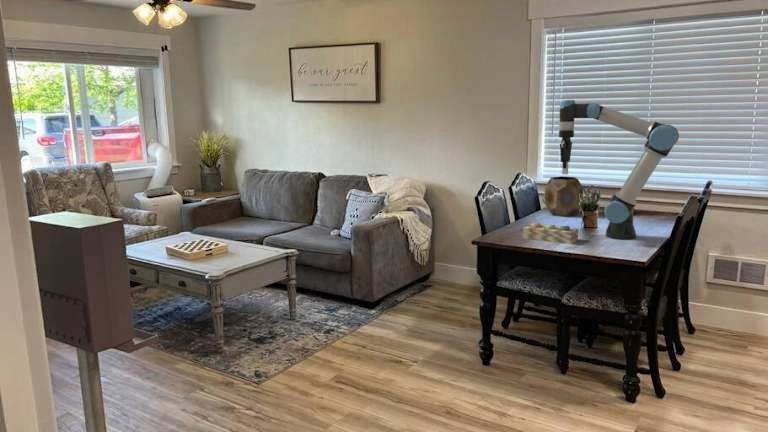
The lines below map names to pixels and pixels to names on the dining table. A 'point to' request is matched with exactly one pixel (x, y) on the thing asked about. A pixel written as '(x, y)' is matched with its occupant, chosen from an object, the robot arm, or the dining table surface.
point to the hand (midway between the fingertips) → (565, 174)
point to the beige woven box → (550, 234)
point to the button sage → (550, 226)
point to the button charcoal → (565, 228)
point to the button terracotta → (536, 225)
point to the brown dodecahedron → (563, 196)
